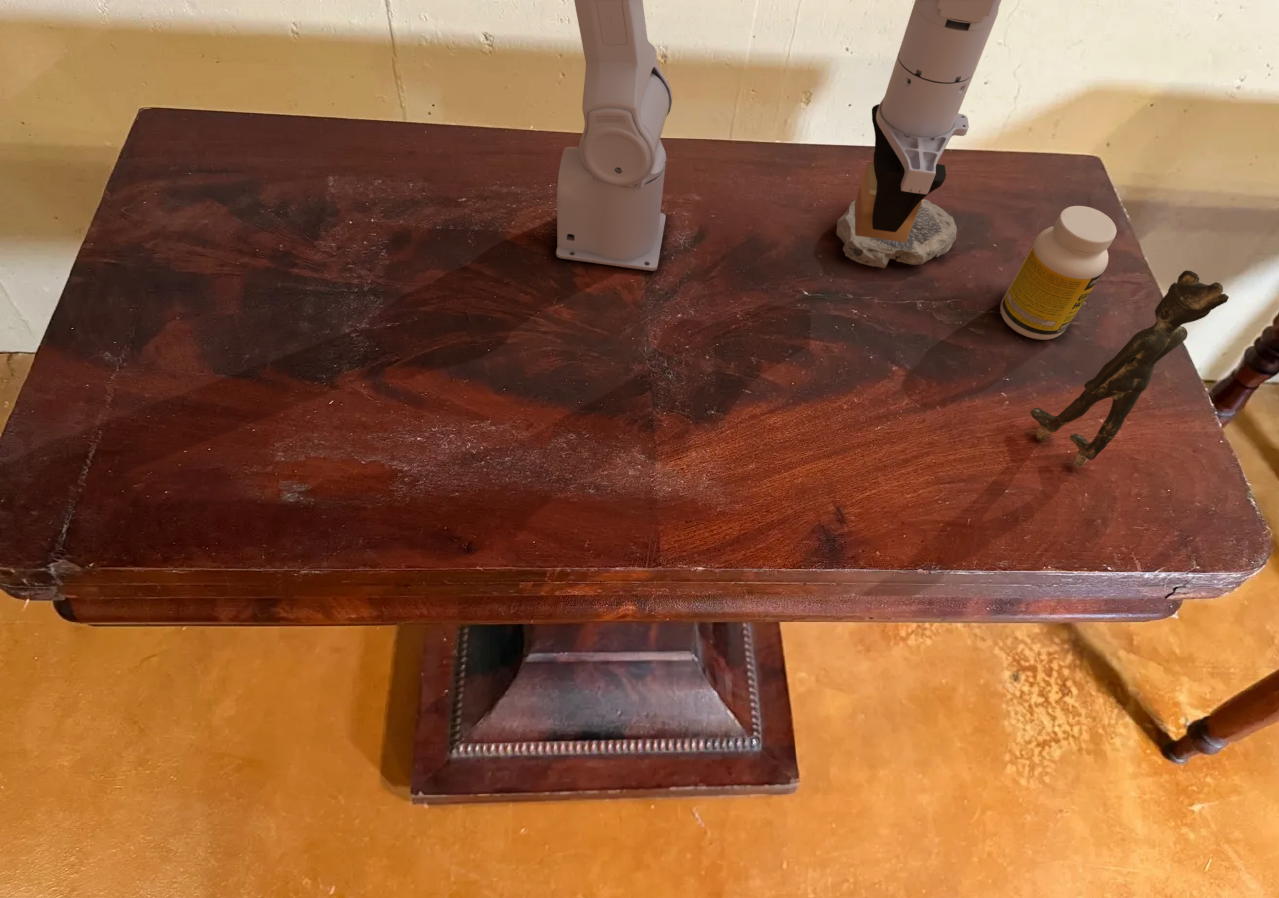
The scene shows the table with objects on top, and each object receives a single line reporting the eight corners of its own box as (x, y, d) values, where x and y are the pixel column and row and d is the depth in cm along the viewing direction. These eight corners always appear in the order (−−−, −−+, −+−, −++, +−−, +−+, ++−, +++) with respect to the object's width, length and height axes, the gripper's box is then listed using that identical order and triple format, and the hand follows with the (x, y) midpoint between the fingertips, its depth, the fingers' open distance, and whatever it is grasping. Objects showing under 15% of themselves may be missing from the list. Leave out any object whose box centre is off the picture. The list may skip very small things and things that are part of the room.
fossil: (871, 261, 81) (830, 176, 84) (852, 288, 84) (813, 205, 88) (972, 248, 85) (929, 168, 88) (950, 274, 88) (909, 196, 92)
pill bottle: (1062, 350, 80) (1125, 257, 71) (994, 330, 81) (1047, 235, 72) (1067, 305, 83) (1127, 211, 74) (1002, 286, 84) (1053, 191, 75)
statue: (1050, 410, 76) (1182, 224, 59) (1104, 465, 72) (1259, 284, 56) (1009, 428, 74) (1133, 243, 58) (1062, 485, 71) (1209, 306, 55)
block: (855, 235, 76) (869, 193, 73) (854, 203, 79) (868, 161, 76) (905, 242, 76) (922, 201, 73) (903, 210, 79) (919, 168, 75)
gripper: (1000, 126, 61) (935, 273, 72) (981, 19, 70) (924, 165, 81) (899, 112, 61) (848, 261, 72) (891, 7, 70) (847, 154, 81)
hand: (883, 209), depth 77 cm, fingers closed on block, 4 cm apart
